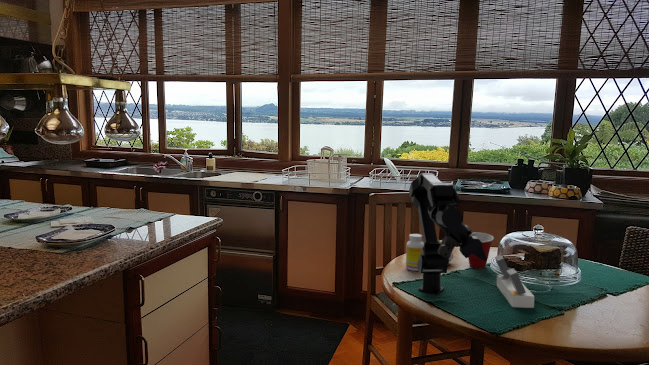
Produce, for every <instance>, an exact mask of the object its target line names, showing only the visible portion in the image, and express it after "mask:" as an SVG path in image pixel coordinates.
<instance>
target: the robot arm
mask: <svg viewBox="0 0 649 365" xmlns="http://www.w3.org/2000/svg"><path fill="white" fill-rule="evenodd" d="M408 194H409V197H410V198H411V203H412V204H413V205H414V206H415V208H416V209H417V212H418V217H419V224H420V228H421V230H420V231H421V235H422V242H424V246H423V249H422V251H421V254H420V257H419V260H418V262H417V267H418V271H417V272H419V273H420V274H422V285H421V286H420V287H418V288H417V289H418V291H419V292H420V291H421V292H425V293H428V294H434V295H438V294H440V293H441V292H442V291H443V290H445V286H442V285H441V284H442V283H441V281H442V274H447V273H448V268H449V263H450V262H449V258H450V256H451V253H453V251H454V249H455V247H456V248H458V247H459V252H460V253H461V255H462V256H463V257H464V258H466V259H468V257H469V256H470V255H472V254H473V255H475V256H477V257H478V258H480V259H481V260H483V261H484V262H485V261H486V260H487V261H488V259H487V257H486V254H485V252H484V250H483V247H482V244H483V243H482V242H481V241H480V240H479V238H478V237H477V236H476V235H475V234H474V235H471V234H472V233H473V232H472V231H473V230H472V229H471V228H470V227H469V226H468V225H467V224H464V223H463V215H462V212H461V211H460V210H459V209H457V207H460V203H461V200H460V197H459V195H458V191H457V189H456V188H455V187H454V185H453V184H452V183H450V182H442V181H441V180H439V179H438V178H437V177H436V175H435V174H434V173H432V172H431V173H430V172H429V173H428V172H427V173H423V172H422V173H418V177H417V178H415V179H414V180H413V181H411V183H410V186H409V189H408ZM436 226H437V227H439V229H440V230H441V231H442V232H443V234H444V237H443V238H442V239H441V240H442V242H441V243H439V242H438V240H439V239H438V235H437V230H436ZM470 235H471V236H470Z"/></svg>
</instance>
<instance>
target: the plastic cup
mask: <svg viewBox="0 0 649 365" xmlns="http://www.w3.org/2000/svg"><path fill="white" fill-rule="evenodd" d="M474 234H475V235H476V236H477V237H478V238H479V240H480V241H481V242H482V243H483V244H482V247H483V250H484V252H485V254H486V257H487V260H486V261H485V262H484V261H483V260H481V259H480V258H478V257H477V256H475V255H473V254H472V255H470V256H469V257H468V258H467V259H468V264H469V267H470V268H473V269H477V270H479V269H481V270H482V269H485V268H486V267H487V262H488V260H489V254H490V250H491V246H492V243H493V241H494V240H495V238H494V236H493V235H491V234H489V233H486V232H474V231H473V232H472V234H471V235H474ZM471 235H470V236H471Z"/></svg>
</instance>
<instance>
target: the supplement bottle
mask: <svg viewBox="0 0 649 365" xmlns="http://www.w3.org/2000/svg"><path fill="white" fill-rule="evenodd" d="M408 238H409V240H408V241H407V242H406V250H405V251H406V254H405V255H406V256H405V258H406V259H405V261H406V262H405V268H406V269H407V270H409V271H413V272H419V271H418V267H417V262H418V260H419V257H420V254H421V251H422V249H423V246H424V243H423V236H422V234H419V233H409V235H408Z"/></svg>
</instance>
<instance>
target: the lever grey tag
mask: <svg viewBox="0 0 649 365" xmlns="http://www.w3.org/2000/svg"><path fill="white" fill-rule="evenodd" d="M494 258H495V259H494V260H495V261H496V264H497V266H498V267H499V268H498V269H499V270H500V272H501V275H502V276H504V277H505V278H506V279H508V278H510V277H509V275H508V273H507V270H509V269H510V268H509V267H508V265H507V263H506V260H505V258H504V257H503V256H502V255H501V254H499V255H497V256H495V257H494Z"/></svg>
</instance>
